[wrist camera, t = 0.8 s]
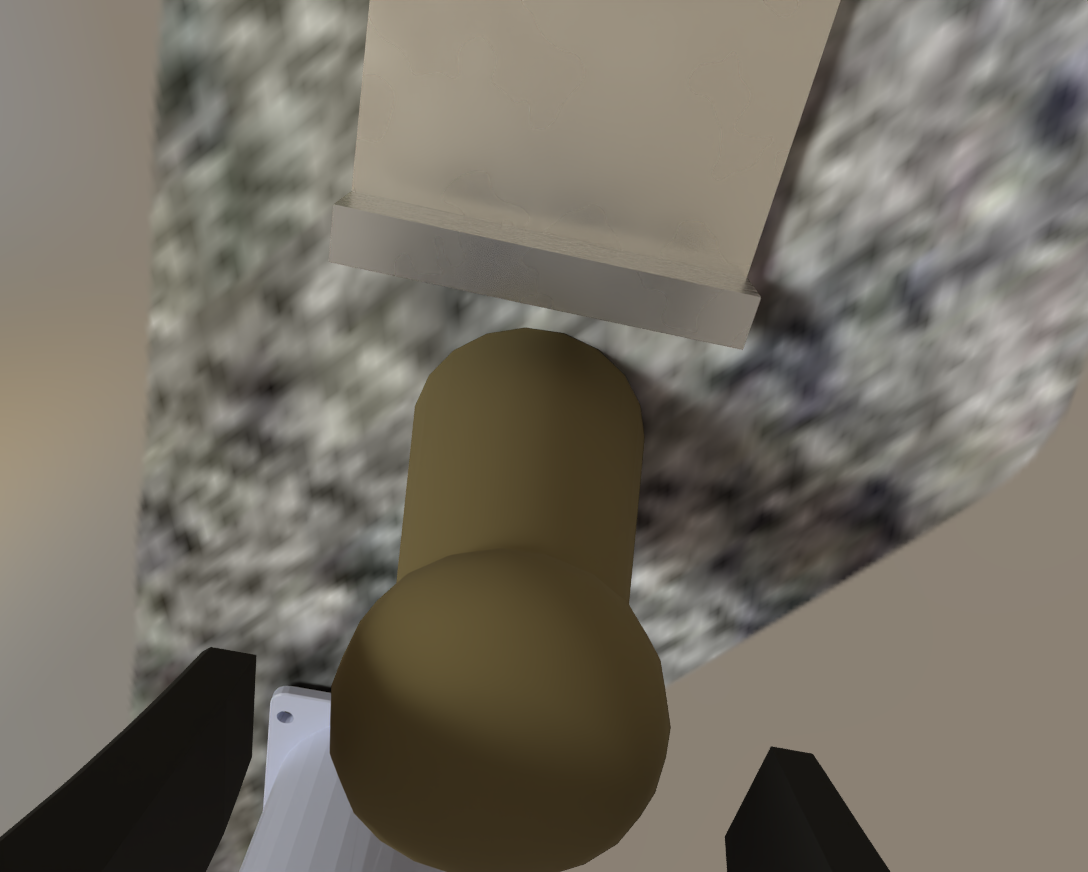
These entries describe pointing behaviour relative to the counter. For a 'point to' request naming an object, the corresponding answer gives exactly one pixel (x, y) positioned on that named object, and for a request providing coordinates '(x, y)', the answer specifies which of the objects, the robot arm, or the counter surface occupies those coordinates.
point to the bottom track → (580, 151)
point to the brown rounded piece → (509, 623)
